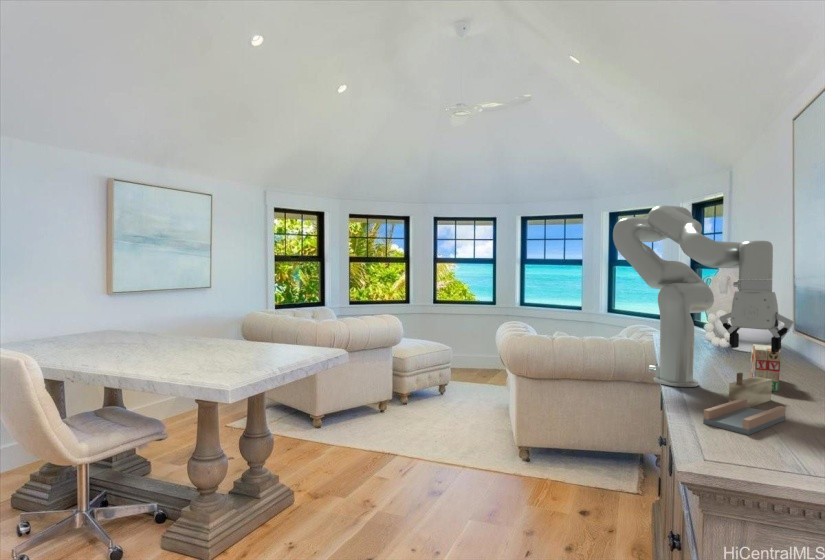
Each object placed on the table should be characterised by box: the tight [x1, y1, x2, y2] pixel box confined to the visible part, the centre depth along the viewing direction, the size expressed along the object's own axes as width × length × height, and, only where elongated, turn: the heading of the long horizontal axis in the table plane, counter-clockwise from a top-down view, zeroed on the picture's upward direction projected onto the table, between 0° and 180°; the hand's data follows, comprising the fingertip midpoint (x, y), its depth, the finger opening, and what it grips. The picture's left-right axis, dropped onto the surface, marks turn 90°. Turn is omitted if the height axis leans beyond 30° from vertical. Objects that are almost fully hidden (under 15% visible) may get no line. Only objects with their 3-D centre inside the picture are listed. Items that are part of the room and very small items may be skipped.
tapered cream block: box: [728, 372, 772, 408], centre depth 135 cm, size 4×16×9 cm, turn 124°
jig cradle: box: [702, 398, 787, 436], centre depth 118 cm, size 9×20×3 cm, turn 125°
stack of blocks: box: [749, 343, 782, 392], centre depth 159 cm, size 21×6×12 cm, turn 149°
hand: (754, 349), depth 134 cm, fingers open, 9 cm apart
